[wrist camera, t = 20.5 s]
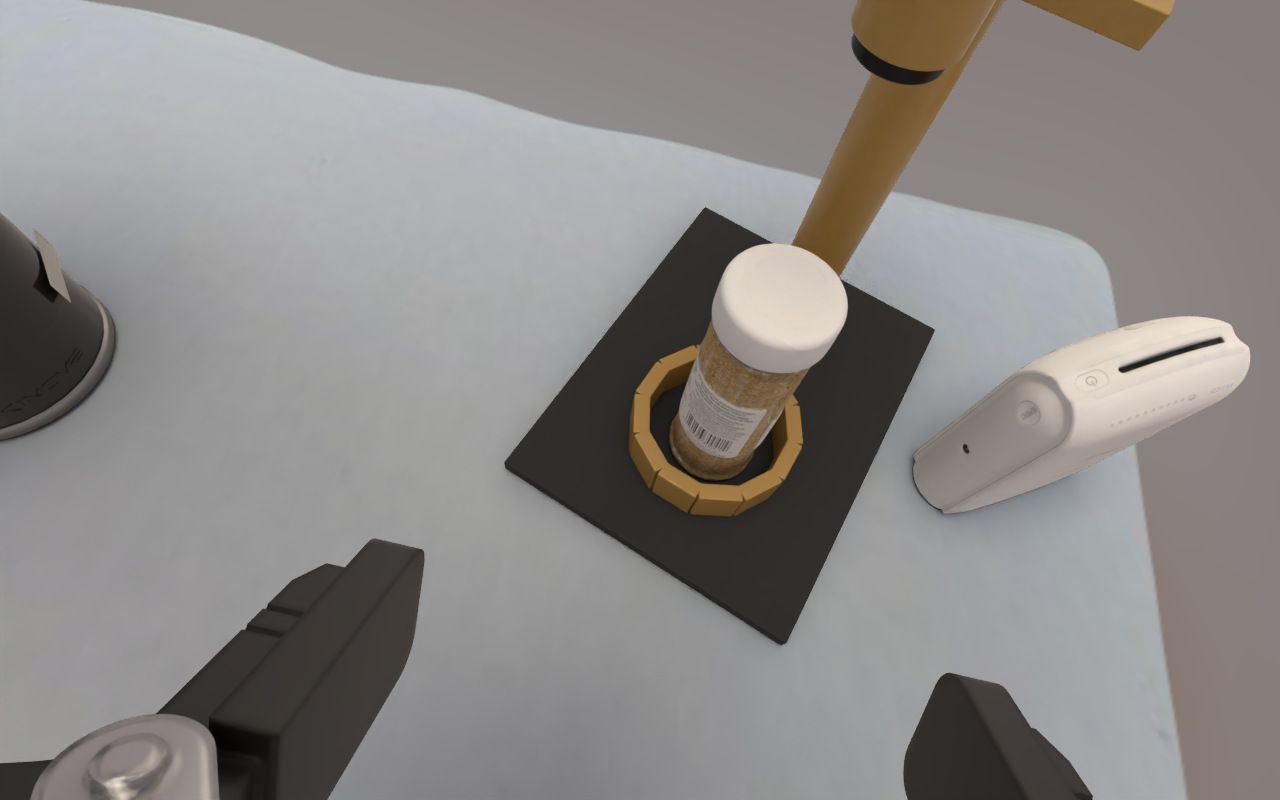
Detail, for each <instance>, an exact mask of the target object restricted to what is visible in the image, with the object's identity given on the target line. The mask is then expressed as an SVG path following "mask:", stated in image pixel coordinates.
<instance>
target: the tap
mask: <svg viewBox="0 0 1280 800" xmlns="http://www.w3.org/2000/svg"><path fill="white" fill-rule="evenodd" d="M1005 1H1006V0H857V2H856V5H855V7H854V10H853V13H852V18H851V22H852V28H853V31H854V34H853V36H852V49H853V52H854V55H855V56H856V58H857V60H858V61H859V62H860V63H861V64H862V65H863V66H864V67H865V68H866V69H867V70H869V71H870V72H871V75H870V77H869V79H868V81H867V83H866V86H865V88H864V90H863V92H862V94H861V96H860V99H859V101H858V103H857V105H856V107H855V109H854V111H853V114H852V116H851V118H850V120H849V122H848V124H847V126H846V129H845V131H844V133H843V135H842V137H841V139H840V142H839V144H838V146H837V148H836V150H835V153H834V155H833V157H832V159H831V161H830V163H829V165H828V167H827V170H826V172H825V174H824V176H823V178H822V180H821V182H820V185H819V187H818V189H817V191H816V193H815V195H814V197H813V200H812V202H811V204H810V206H809V208H808V210H807V213H806V215H805V217H804V219H803V221H802V223H801V225H800V228H799V230H798V232H797V234H796V236H795V238H794V240H793V243H792V246H796V247H799V248H802V249H804V250H807V251H809V252H811V253H813V254H814V255H816V256H818V257H819V258H820V259H822V260H823V261H824V262H826V263H827V264H828V265H829V266H830V267H831V268H832V269H833V270H834V272H835V273H836V274H837V275H838V277H839V276H840V275H841V273H842V271H843V270H844V268H845V266H846V265H847V263H848V261H849V260H850V258H851V256H852V255H853V253H854V251H855V250H856V248H857V247H858V245H859V243H860V242H861V240H862V238H863V237H864V235H865V233H866V232H867V230H868V228H869V227H870V225H871V223H872V222H873V220H874V218H875V217H876V215H877V213H878V212H879V210H880V208H881V207H882V205H883V203H884V202H885V200H886V198H887V197H888V195H889V193H890V192H891V190H892V188H893V187H894V185H895V183H896V182H897V180H898V178H899V177H900V175H901V174H902V172H903V170H904V169H905V167H906V165H907V163H908V162H909V160H910V159H911V157H912V155H913V154H914V152H915V150H916V149H917V147H918V145H919V144H920V142H921V140H922V139H923V137H924V135H925V134H926V132H927V130H928V129H929V127H930V125H931V124H932V122H933V120H934V119H935V117H936V115H937V114H938V112H939V110H940V109H941V107H942V105H943V104H944V102H945V101H946V99H947V97H948V95H949V94H950V92H951V91H952V89H953V87H954V86H955V84H956V82H957V81H958V79H959V77H960V76H961V74H962V72H963V71H964V69H965V67H966V66H967V64H968V62H969V61H970V59H971V57H972V56H973V54H974V52H975V51H976V49H977V47H978V46H979V44H980V42H981V41H982V39H983V37H984V36H985V34H986V33H987V31H988V29H989V28H990V26H991V24H992V22H993V21H994V19H995V18H996V16H997V14H998V13H999V11H1000V9H1001V8H1002V6H1003V4H1004V3H1005ZM1023 1H1025V2H1027V3H1030V4H1032V5H1034V6H1037V7H1039V8H1041V9H1043V10H1046V11H1049V12H1050V13H1053V14H1055V15H1057V16H1060V17H1062V18H1064V19H1067V20H1069V21H1071V22H1073V23H1076V24H1078V25H1080V26H1082V27H1085V28H1087V29H1090V30H1092V31H1094V32H1096V33H1098V34H1101V35H1103V36H1105V37H1108V38H1110V39H1112V40H1114V41H1117V42H1119V43H1121V44H1124V45H1126V46H1128V47H1131V48H1133V49H1135V50H1137V51H1139V50H1141V49H1142V48H1143V47H1144V46H1145V44H1146V43H1147V42H1148V41H1149V39H1150V38H1151V37H1152V36H1153V35H1154V34H1155V33H1156V31H1157V30H1158V29H1159V28H1160V27H1161V25H1162V24H1163V23H1164V22H1165V21H1166V19H1167V18H1168V17H1169V16H1170V13H1171V10H1172V8H1173V5H1174V2H1175V0H1023ZM700 346H701V345H697V346H696V348H695V346H694V345H693V346H690V347H688V348H686V349H683V350H681V351H679V352H676V353H674V354H671V355H669V356H667V357H664V358H662V359H660V360H659V362H656V363H655V365H654V366H653V368H652V369H651V370H650V372H649V373H648V374H647V376H646V377H645V379H644V380H643V381H642V383H641V384H640V386H639V387H638V388H637V390H636V393H635V395H634V399H633V404H632V409H631V414H630V433H629V451H630V456H631V458H632V460H633V461H634V463H635V465H636V467H637V468H638V470H639V472H640V474H641V476H642V477H643V479H644V481H645V483H646V485H647V486H648V488H649V489H650V488H652V487H653V488H652V492H654V493H655V494H657V495H658V496H660V497H662V498H663V499H665V500H666V501H668V502H670V503H671V504H673V505H675V506H676V507H678V508H679V509H681V510H683V511H684V512H686V513H687V512H688V511H689V509H690V514H694V515H711V516H729V517H730V516H732V514H733V515H734V516H736V515H738V514H740V513H742V512H743V511H745V510H747V509H749V508H751V507H753V506H755V505H757V504H759V503H761V502H763V501H764V500H766V499H768V498H769V497H770V496H771V495H772V494H773V493H774V491H775V490H776V489H777V488H778V487H779V486H780V485H781V483H782V482H783V481H784V480H785V479H786V477H787V475H788V473H789V471H790V469H791V467H792V466H793V464H794V462H795V460H796V458H797V456H798V455H799V453H800V451H801V449H802V446H801V445H802V444H803V438H802V427H801V416H800V407H799V406H796V405H797V404H798V402H797V400H796V399H795V397H794V396H793V395H792V396H791V397H790V399H789V400H788V402H787V403H786V405H785V406H784V408H783V411H782V413H781V415H780V416H779V418H778V419H777V421H776V422H775V424H774V425H773V427H772V442H773V457H774V458H773V460H772V462H771V464H770V465H769V467H768V469H767V471H766V472H765V473H763V474H761V475H759V476H757V477H755V478H753V479H751V480H749V481H747V482H745V483H743V484H741V485H739V486H735V485H719V484H703V483H700V482H698V481H696V480H695V479H693V478H691V477H690V476H688V475H687V474H685V473H683V472H682V471H680V470H678V469H677V468H675V467H673V466H672V465H670V464H669V463H668V462H667V460H666V459H665V457H664V455H663V453H662V452H661V450H660V448H659V446H658V445H657V443H656V441H655V440H654V438H653V436H652V434H651V433H650V410H651V409H652V407H653V406H654V405H655V403H656V402H657V400H658V399H659V397H660V396H661V394H662V393H663V392H665V391H668V390H670V389H672V388H675V387H677V386H679V385H681V384H684V383H686V382H688V379H689V376H690V373H691V370H692V367H693V365H694V362H695V359H696V356H697V353H698V351H699V348H700Z"/></svg>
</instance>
